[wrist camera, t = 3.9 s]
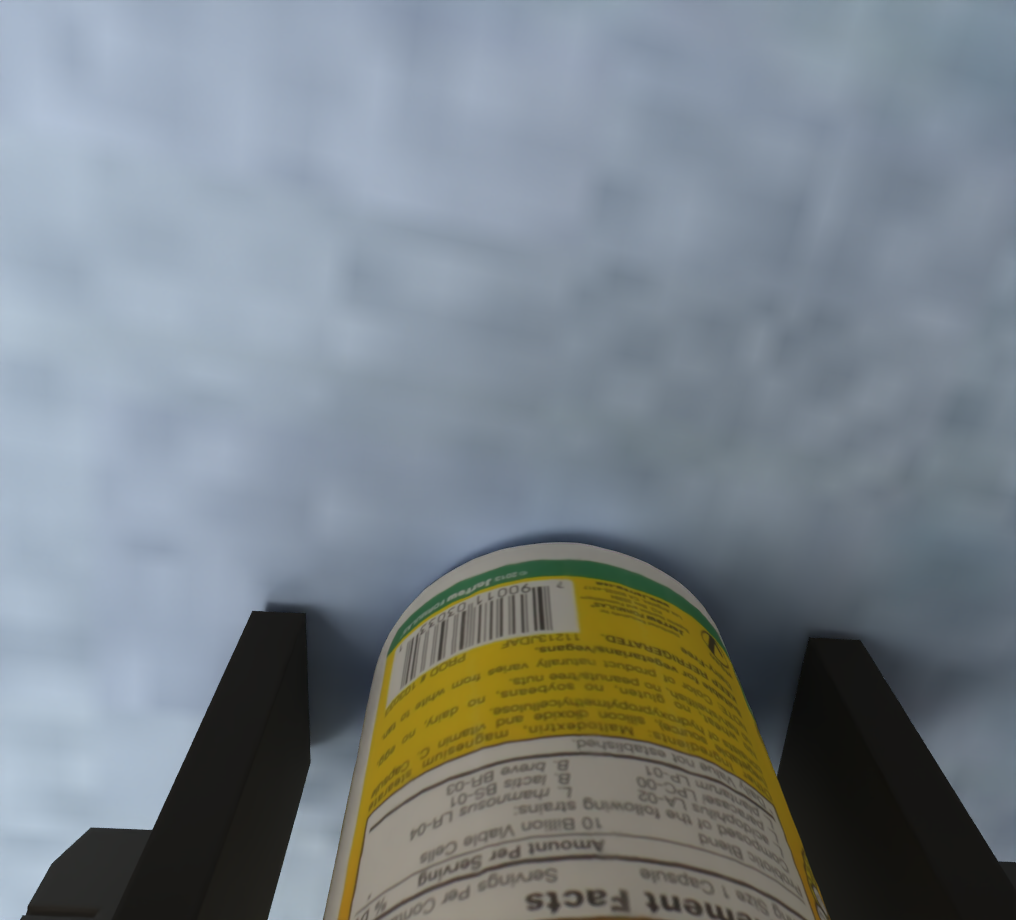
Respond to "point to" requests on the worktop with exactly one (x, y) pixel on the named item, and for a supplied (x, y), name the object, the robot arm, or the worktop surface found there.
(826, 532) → the worktop surface
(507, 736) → the supplement bottle
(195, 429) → the worktop surface
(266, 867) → the robot arm
